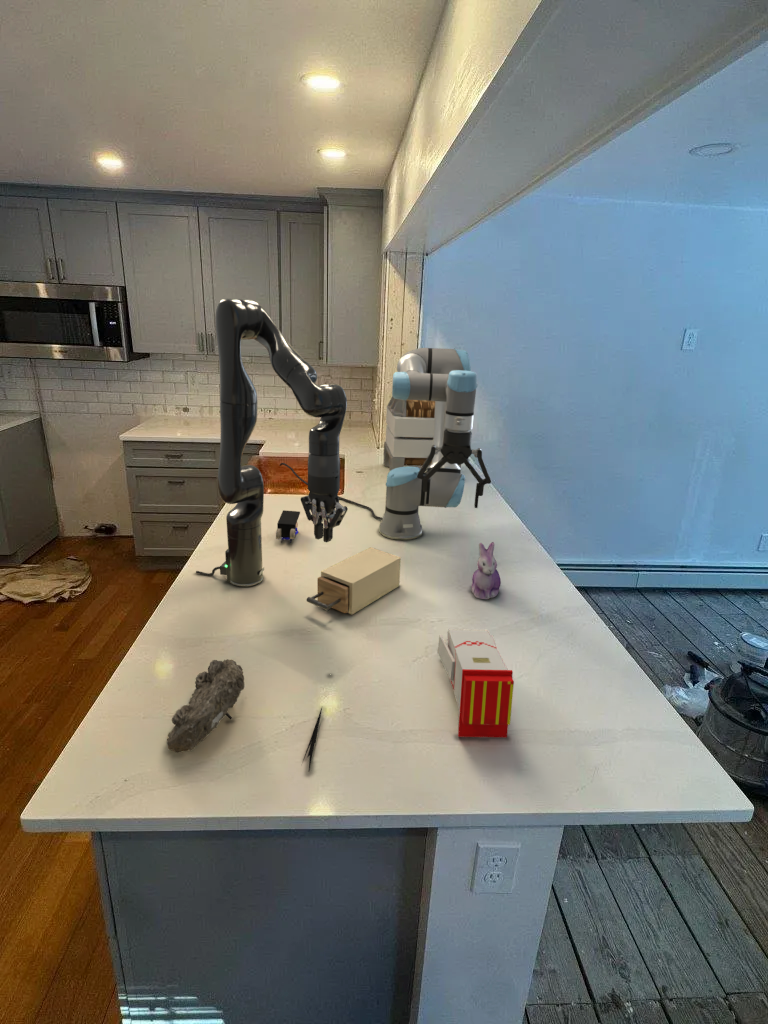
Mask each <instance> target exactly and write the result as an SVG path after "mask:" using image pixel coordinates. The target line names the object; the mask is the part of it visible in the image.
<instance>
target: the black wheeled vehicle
mask: <svg viewBox="0 0 768 1024" xmlns="http://www.w3.org/2000/svg"><path fill="white" fill-rule="evenodd" d="M300 515H301V511H296V510H285V509H284V510H283V509H282V512H281V514H280V517H279V518H278V521H277V526H276V532H275V539H276V540H280V544H283V543H284V541H288V542H289V544H292V542H293V540H295V539H296V535H298V534H299V530H298V526H299V524H298V520H299V517H300Z"/></svg>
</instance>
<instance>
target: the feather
mask: <svg viewBox="0 0 768 1024" xmlns="http://www.w3.org/2000/svg"><path fill="white" fill-rule="evenodd" d="M329 675H330V676H331V675H332V674H331V673H330V674H329ZM322 710H323V707H321V708H320V710H319V713H318V716H317V719H316V723H315V725H314V728H313V731H312V733H311V737H310V739H309V742H308V745H307V748H306V751H305V754H304V757H303V760H302V763H301V767H302V765H303V763H304V761H305V758H308V759H309V760H308V762H307V763H308V764H307V766H308V771H310V770H311V766H312V765H311V764H312V760H313V757H315V756H314V755H315V751H316V749H315V746H317V739H318V733H319V729H320V722H321V717H322V712H323V711H322ZM313 754H314V755H313ZM306 755H307V757H306Z"/></svg>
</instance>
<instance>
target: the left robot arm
mask: <svg viewBox="0 0 768 1024" xmlns="http://www.w3.org/2000/svg"><path fill="white" fill-rule="evenodd" d="M214 320H215V333H216V342H217V343H216V344H217V352H218V362H219V420H220V439H219V440H220V442H219V444H220V448H219V457H218V458H219V459H218V470H217V487H218V489H217V490H218V493H219V495H220V498H221V500H223V502H224V503H226V504H229V505H235V504H236V505H235V506H234V507H233V508H232V509H231V510H229V511H228V513H227V514H226V520H225V521H226V536H227V549H226V550H225V551H224V555H225V561H224V562H223V563H221V565H219V566H216V567H213V569H212V570H211V572H210V573H209V572H208V573H207V572H203V571H199V570H196V571H195V574H198V575H201V576H206V577H211V576H214V575H215V572H216V571H217V570H219V574H220V576H226V582H227V583H230V584H232V585H233V586H235V587H242V588H243V587H244V588H245V587H253V586H256V585H259V584H260V583H262V582H263V580H264V571H265V566H263V543H262V539H263V537H262V517H263V514H264V501H265V500H264V499H265V498H264V497H265V485H264V478H263V475H262V472H261V471H260V470H259V468H258V467H257V466H255V465H252V464H245V465H242V458H243V454H244V451H245V448H246V446H247V444H248V441H249V440H250V438H251V437H252V433H254V429H255V427H256V424H257V421H258V393H257V390H256V386H255V385H254V383H253V381H252V380H251V378H250V375H249V374H248V373H247V370H246V368H245V366H244V363H243V359H242V348H241V347H242V345H241V343H242V342H241V341H242V340H254V341H256V342H257V343H259V344H261V346H263V347H264V348H265V350H267V352H268V357H269V362H270V365H271V367H272V370H273V371H274V374H276V376H278V377H279V379H280V380H281V381H282V382H283V383H284V384H285V385H286V386H288V388H289V389H291V392H292V394H293V396H294V398H295V399H296V401H297V403H298V405H299V406H300V408H301V409H302V411H303V413H305V414H306V415H308V416H309V417H312V418H316V419H318V418H320V419H319V422H318V423H317V424H316V425H314V426H313V427H312V428H310V430H309V431H308V457H307V483H308V485H307V490H308V494H307V495H304V496H301V497H300V502H301V505H302V508H303V510H304V513H305V515H306V519H307V520H308V521H310V522H312V525H313V535H314V538H315V539H316V540H321V539H322V540H323V543H329V542H331V541H332V540H333V537H334V536H333V535H334V532H333V531H334V528H336V527H338V526H340V525H341V523H342V522H343V519H344V518H345V516H346V514H347V512H348V506H346V505H344V506H343V505H342V503H340V499H339V498H338V496H339V492H340V489H341V457H340V435H341V433H342V428H343V425H344V420H345V417H346V413H347V408H348V399H347V395H346V392H345V390H344V388H343V387H342V386H341V385H340V384H338V383H324V384H316V383H317V381H318V373H317V371H316V369H315V368H314V367H313V366H312V365H311V364H310V363H309V362H308V361H307V360H306V359H305V358H304V357H303V356H302V355H301V354H300V353H299V352H298V351H297V350H296V349H295V348H294V347H293V346H292V345H291V344H290V342H289V341H288V340H287V339H286V337H285V336H284V334H283V333H282V332H281V330H280V329H279V328H278V326H277V325H276V323H275V322H274V320H273V319H272V318H271V316H270V314H268V312H267V311H266V309H265V308H264V307H263V306H262V305H261V304H260V303H259V302H257V301H256V300H252V299H244V298H243V299H242V298H241V299H240V298H223V299H221V300H220V302H218V304H217V306H216V309H215V319H214Z"/></svg>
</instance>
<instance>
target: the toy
mask: <svg viewBox="0 0 768 1024" xmlns="http://www.w3.org/2000/svg"><path fill="white" fill-rule="evenodd" d="M446 640H447V643H446V641H445V639H444V636H443V635H442V634H439V637H438V646H437V656H438V657H439V659H440V661H441V663H442V666H443V668H444V670H445V672H446V674H447V677H448V679H449V681H450V684H451V687H452V690H453V693H454V697H455V701H456V705H457V708H458V711H459V714H458V715H459V716H458V730H457V731H458V732H457V737H458V738H508V731H509V726H510V725H511V717H512V707H513V697H514V696H513V695H514V684H515V680H514V679H513V673H514V671H513V670H512V669H508V667H507V665H506V662H505V661H504V659H503V658H502V655H501V653H500V651H499V649H498V647H497V643H496V639H495V637H494V635H493V634H491V632H490V631H489V629H467V628H466V629H465V628H463V629H461V628H460V629H459V628H448V630H447V639H446Z"/></svg>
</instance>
